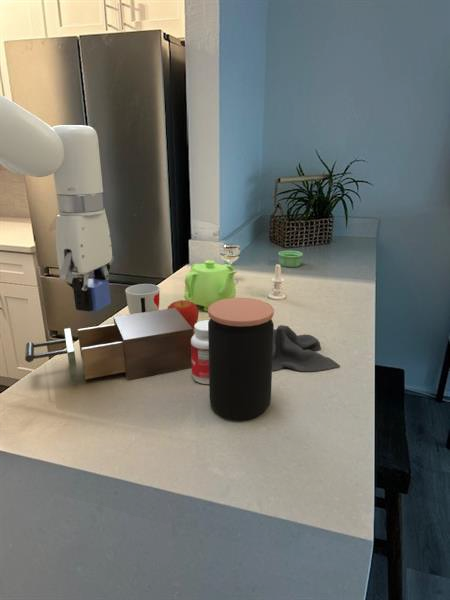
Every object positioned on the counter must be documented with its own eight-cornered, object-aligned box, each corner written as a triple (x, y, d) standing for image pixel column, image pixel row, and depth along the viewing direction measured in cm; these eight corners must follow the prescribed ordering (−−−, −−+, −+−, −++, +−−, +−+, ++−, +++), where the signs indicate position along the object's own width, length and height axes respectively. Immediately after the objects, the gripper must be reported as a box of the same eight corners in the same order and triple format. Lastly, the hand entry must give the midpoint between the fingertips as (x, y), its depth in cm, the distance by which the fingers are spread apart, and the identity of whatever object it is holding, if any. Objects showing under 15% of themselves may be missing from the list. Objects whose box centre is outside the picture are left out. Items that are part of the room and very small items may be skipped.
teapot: (244, 298, 127) (245, 256, 123) (236, 315, 114) (237, 269, 110) (192, 294, 130) (191, 253, 126) (178, 311, 117) (176, 266, 113)
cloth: (226, 366, 88) (226, 339, 86) (246, 331, 105) (247, 307, 103) (339, 381, 82) (342, 352, 80) (341, 341, 99) (343, 316, 97)
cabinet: (127, 380, 83) (123, 340, 80) (117, 353, 94) (113, 316, 91) (194, 367, 88) (193, 328, 85) (177, 342, 99) (175, 307, 96)
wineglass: (216, 281, 143) (215, 245, 139) (233, 277, 146) (233, 243, 142) (227, 286, 137) (227, 249, 133) (244, 282, 141) (245, 246, 137)
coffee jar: (277, 394, 78) (281, 301, 72) (259, 428, 69) (262, 325, 63) (223, 383, 82) (222, 294, 76) (199, 414, 72) (196, 315, 66)
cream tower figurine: (285, 294, 130) (286, 260, 126) (286, 300, 125) (287, 265, 122) (268, 293, 131) (269, 260, 127) (268, 299, 126) (269, 265, 122)
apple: (165, 337, 101) (163, 306, 99) (169, 324, 109) (167, 295, 106) (197, 337, 101) (197, 306, 98) (200, 324, 108) (199, 295, 106)
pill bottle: (195, 368, 87) (194, 317, 84) (225, 370, 87) (225, 319, 83) (188, 384, 82) (186, 330, 78) (220, 386, 81) (220, 332, 77)
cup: (140, 336, 102) (136, 296, 98) (122, 326, 107) (119, 288, 104) (168, 327, 107) (166, 289, 104) (150, 318, 113) (147, 281, 109)
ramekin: (291, 269, 156) (291, 257, 154) (273, 264, 162) (273, 253, 161) (307, 265, 161) (307, 253, 160) (288, 260, 168) (289, 249, 166)
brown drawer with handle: (29, 393, 77) (23, 359, 75) (30, 365, 87) (25, 334, 85) (139, 372, 84) (136, 340, 82) (128, 348, 94) (126, 319, 92)
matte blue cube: (75, 309, 78) (72, 285, 76) (90, 300, 82) (87, 278, 80) (97, 311, 76) (94, 287, 75) (111, 303, 80) (108, 280, 79)
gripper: (92, 197, 81) (102, 289, 87) (27, 210, 66) (44, 319, 72) (127, 199, 79) (134, 293, 85) (68, 212, 64) (82, 325, 70)
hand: (93, 304), depth 79 cm, fingers closed on matte blue cube, 4 cm apart
